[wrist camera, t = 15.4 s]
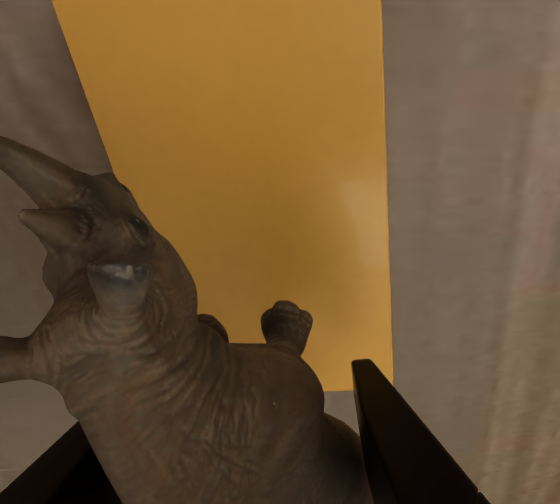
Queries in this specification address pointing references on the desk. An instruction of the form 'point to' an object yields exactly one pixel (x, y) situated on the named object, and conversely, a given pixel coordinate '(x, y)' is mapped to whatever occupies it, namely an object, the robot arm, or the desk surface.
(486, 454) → the desk surface
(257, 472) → the rhino figurine
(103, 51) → the cover
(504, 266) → the desk surface
